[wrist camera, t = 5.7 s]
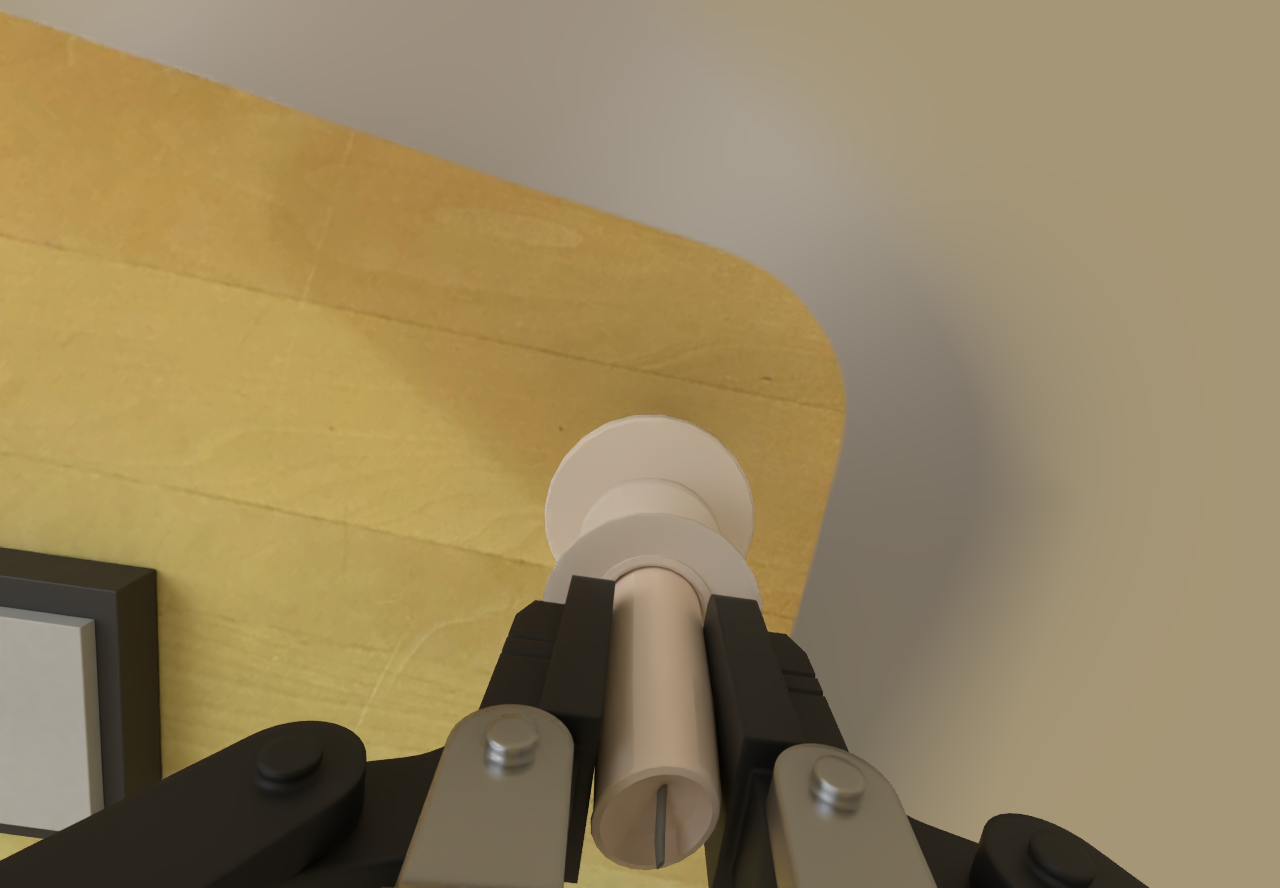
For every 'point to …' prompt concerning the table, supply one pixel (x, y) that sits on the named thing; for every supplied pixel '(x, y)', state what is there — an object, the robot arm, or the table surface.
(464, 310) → the table surface
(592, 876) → the table surface
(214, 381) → the table surface
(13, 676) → the scale
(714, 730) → the candle
